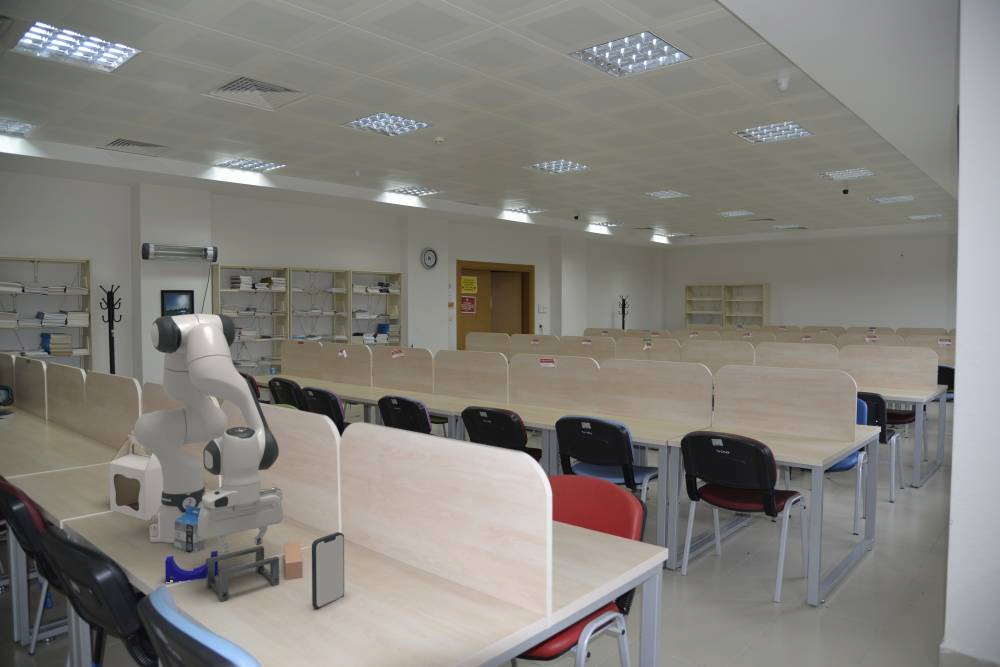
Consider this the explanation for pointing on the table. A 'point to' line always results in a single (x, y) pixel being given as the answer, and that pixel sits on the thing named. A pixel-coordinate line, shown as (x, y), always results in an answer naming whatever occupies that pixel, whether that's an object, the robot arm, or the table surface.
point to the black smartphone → (327, 569)
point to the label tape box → (188, 531)
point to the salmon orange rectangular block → (292, 560)
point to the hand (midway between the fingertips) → (242, 547)
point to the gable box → (135, 480)
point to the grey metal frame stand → (240, 569)
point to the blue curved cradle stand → (184, 575)
